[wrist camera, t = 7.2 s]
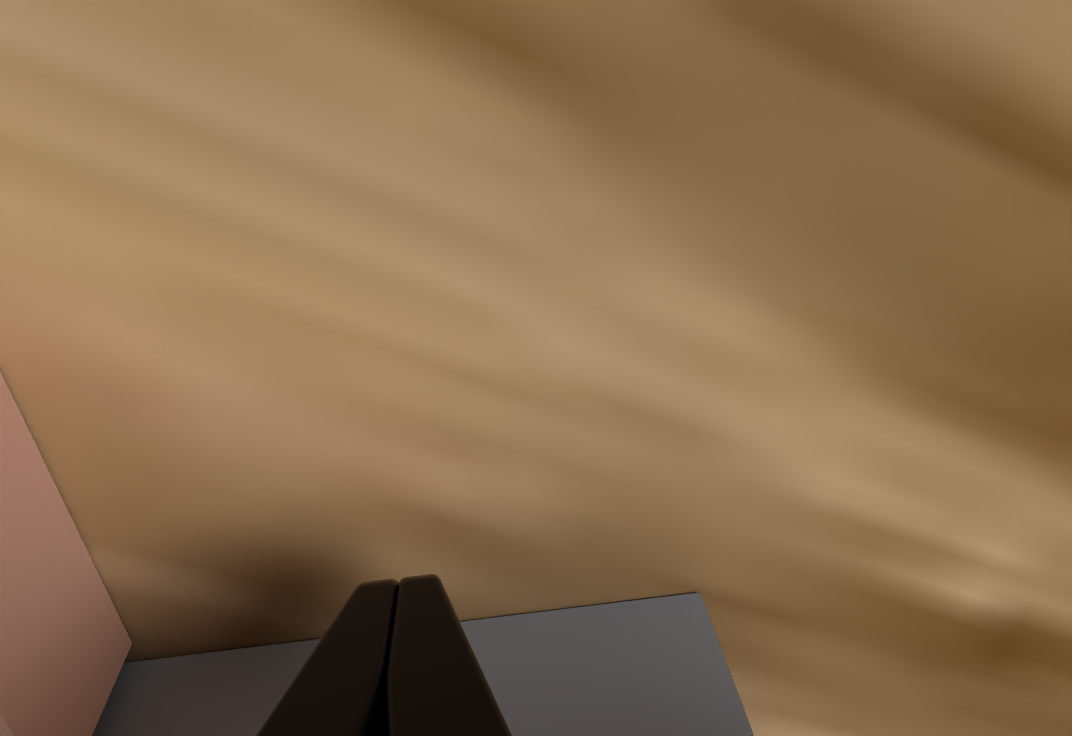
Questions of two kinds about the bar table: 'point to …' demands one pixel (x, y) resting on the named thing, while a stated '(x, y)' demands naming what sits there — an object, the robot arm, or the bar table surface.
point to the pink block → (48, 601)
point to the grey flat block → (507, 663)
